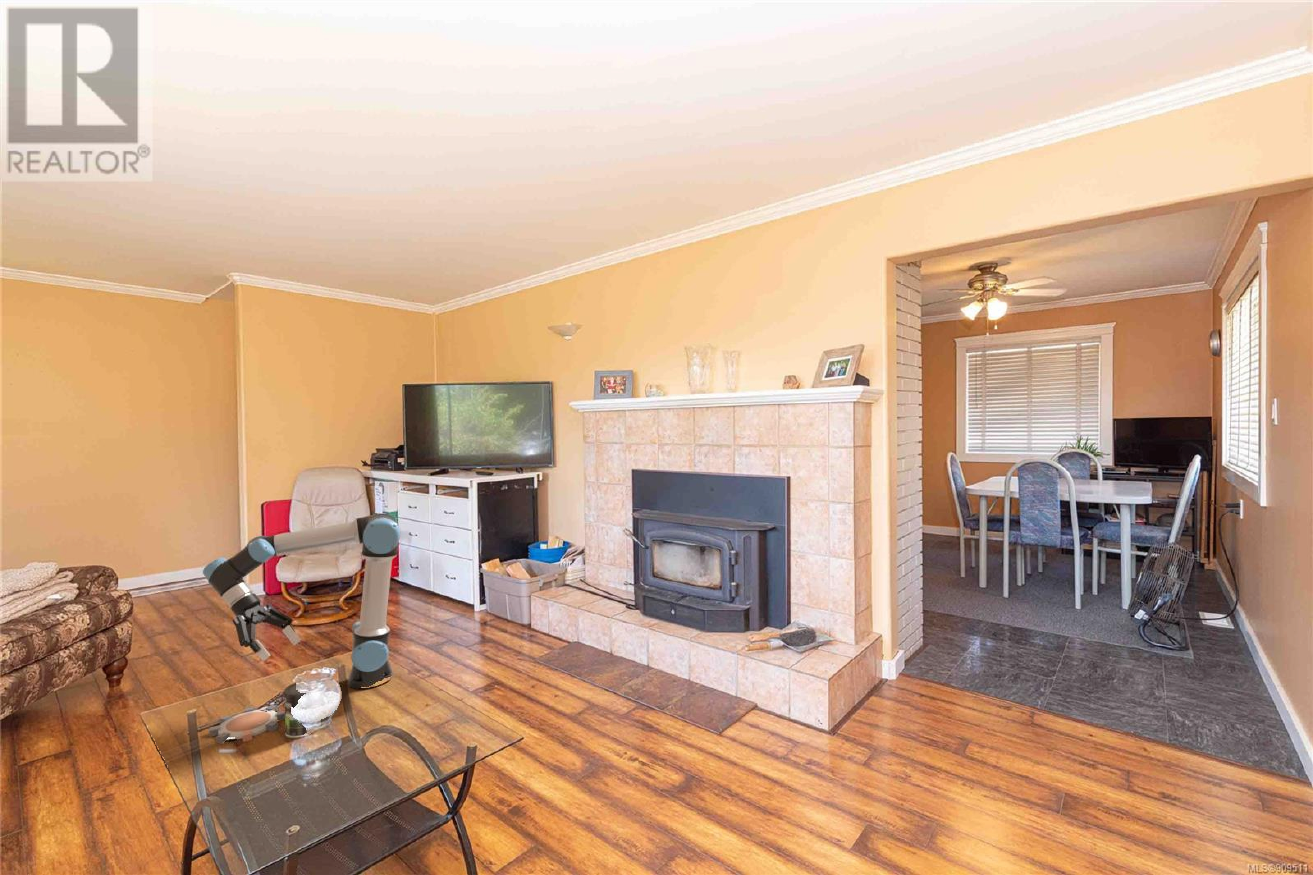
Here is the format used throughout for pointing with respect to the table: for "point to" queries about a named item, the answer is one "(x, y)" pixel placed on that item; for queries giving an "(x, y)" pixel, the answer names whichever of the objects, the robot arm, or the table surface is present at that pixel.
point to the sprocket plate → (247, 724)
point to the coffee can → (291, 724)
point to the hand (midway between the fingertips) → (282, 650)
